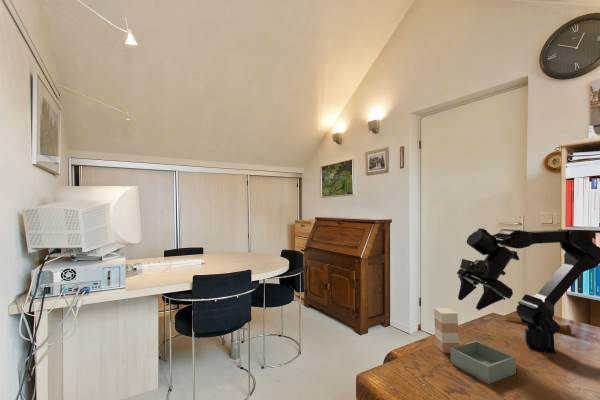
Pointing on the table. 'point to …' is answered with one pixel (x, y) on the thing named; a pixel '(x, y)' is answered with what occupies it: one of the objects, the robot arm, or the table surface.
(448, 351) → the tile stack
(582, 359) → the table surface
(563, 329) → the primitive tool
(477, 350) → the box
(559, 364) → the table surface
